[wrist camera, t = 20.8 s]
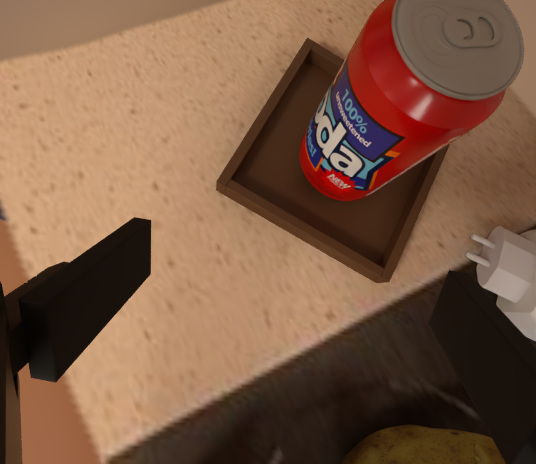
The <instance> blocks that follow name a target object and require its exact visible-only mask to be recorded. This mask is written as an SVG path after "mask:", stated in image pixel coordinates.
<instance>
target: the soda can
mask: <svg viewBox="0 0 536 464" xmlns="http://www.w3.org/2000/svg"><path fill="white" fill-rule="evenodd" d="M523 57H524V44H523V38H522V33H521V30H520V27H519V25H518V22H517V20H516V18H515V17H514V15H513V13H512V11H511V10H510V8H509V7H508V6H507V4H506V3H505V2H504V1H503V0H384V1H383V2H382V3H381V4H380V5H379V6H378V7H377V8H376V9H375V10H374V11H373V13H372V14H371V15H370V17H369V19H368V20H367V22H366V24H365V25H364V27H363V29H362V30H361V32H360V34H359V36H358V38H357V39H356V41H355V43H354V45H353V46H352V48H351V50H350V52H349V54H348V55H347V57H346V59H345V61H344V63H343V64H342V66H341V68H340V70H339V71H338V73H337V75H336V77H335V79H334V80H333V82H332V84H331V86H330V87H329V89H328V91H327V93H326V95H325V96H324V98H323V100H322V102H321V103H320V105H319V107H318V109H317V111H316V112H315V114H314V116H313V118H312V119H311V121H310V123H309V125H308V127H307V128H306V130H305V132H304V134H303V136H302V139H301V143H300V148H299V159H300V164H301V167H302V170H303V172H304V174H305V176H306V178H307V179H308V181H309V182H310V183H311V184H312V186H313V187H314V188H316V189H317V190H318V191H319V192H321V193H322V194H324V195H326V196H328V197H330V198H332V199H336V200H340V201H355V200H359V199H362V198H365V197H367V196H369V195H371V194H373V193H374V192H376V191H377V190H379V189H381V188H382V187H384V186H385V185H387V184H388V183H390V182H391V181H393V180H394V179H396V178H397V177H399V176H401V175H402V174H404V173H405V172H407V171H408V170H410V169H411V168H413V167H414V166H416V165H418V164H419V163H421V162H422V161H424V160H425V159H427V158H428V157H430V156H431V155H433V154H435V153H436V152H438V151H439V150H441V149H442V148H444V147H445V146H447V145H448V144H450V143H452V142H453V141H455V140H456V139H458V138H459V137H461V136H462V135H464V134H465V133H467V132H469V131H470V130H472V129H473V128H475V127H476V126H478V125H479V124H480V123H482V122H483V121H485V120H486V119H487V118H488V117H489V116H490V115H491V114H492V113H493V112H494V111H495V110H496V109H497V108H498V106H499V105H500V103H501V101H502V99H503V97H504V94H505V91H506V88H507V87H508V86H509V85H510V84H511V83H512V82H513V81H514V80H515V78H516V77H517V75H518V74H519V72H520V69H521V66H522V62H523Z"/></svg>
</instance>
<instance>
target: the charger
mask: <svg viewBox="0 0 536 464" xmlns="http://www.w3.org/2000/svg"><path fill="white" fill-rule="evenodd" d="M471 239H473V240H475V241H477V242H480V243H482V244H483V247H482V251H481V254H480V257H479V256H477V255H475V254H473V253H471V252H469V251H468V252H466V254H465V256H466V257H467V258H469V259H471V260H473V261H475V262H477V263H478V265H477V268H476V269H477V277H478V283H479V284H480V285H481V286H482V287H483V288H485V289H487V290H489V291H491V292H493V293H496V294H498V298H497V302H496V305H497V306H498V307H499V309H500V310H501V311H502V312H503V313H504V314H505V315H506V316H507V317H508V318H509V319H510V320H511V322H512V323H513V324H514V325H515V326H516V327H517V328H518V329H519V330H520V331H521V332H522V333H523V335H524V336H526V337H528V338H530V339H532V340H534V341H536V229H534V230H530V231H527V232H524V233H522V234H520V235H517V234H515V233H513V232H511V231H509V230H507V229H505V228H503V227H501V226H499V225H498V226H497V227H496V228H495V229H494V230H493V231H492V232H491V234H490V235H489V237H488V238H487V239H485V238H483V237H481V236H479V235H477V234H475V233H472V234H471Z"/></svg>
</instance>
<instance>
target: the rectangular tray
mask: <svg viewBox="0 0 536 464" xmlns="http://www.w3.org/2000/svg"><path fill="white" fill-rule="evenodd" d="M344 61H345V60H343V59H341V58H340V57H338V56H336V55H335V54H333V53H332V52H330V51H328V50H327V49H325V48H323V47H322V46H320V45H319V44H317V43H315V42H314V41H312V40H310V39H309V38H307V39H306V41H305V42H304V44H303V45H302V47H301V49H300V50H299V52H298V53H297V55H296V57H295V58H294V60H293V61H292V63H291V64H290V66H289V68H288V69H287V71H286V72H285V74H284V76H283V77H282V79H281V80H280V82H279V84H278V85H277V87H276V88H275V90H274V91H273V93H272V95H271V96H270V98H269V99H268V101H267V103H266V104H265V106H264V107H263V109H262V110H261V112H260V114H259V115H258V117H257V118H256V120H255V122H254V123H253V125H252V126H251V128H250V129H249V131H248V133H247V134H246V136H245V137H244V139H243V141H242V142H241V144H240V145H239V147H238V148H237V150H236V152H235V153H234V155H233V156H232V158H231V160H230V161H229V163H228V164H227V166H226V167H225V169H224V171H223V172H222V174H221V175H220V177H219V179H218V180H217V184H216V190H217V191H219V192H220V193H222V194H224V195H226V196H227V197H229V198H231V199H232V200H234V201H236V202H238V203H239V204H241V205H243V206H245V207H246V208H248V209H250V210H251V211H253V212H255V213H257V214H258V215H260V216H262V217H264V218H265V219H267V220H269V221H270V222H272V223H274V224H276V225H277V226H279V227H281V228H283V229H284V230H286V231H288V232H289V233H291V234H293V235H295V236H296V237H298V238H300V239H302V240H303V241H305V242H307V243H308V244H310V245H312V246H314V247H315V248H317V249H319V250H320V251H322V252H324V253H326V254H327V255H329V256H331V257H333V258H334V259H336V260H338V261H339V262H341V263H343V264H345V265H346V266H348V267H350V268H352V269H353V270H355V271H357V272H358V273H360V274H362V275H364V276H365V277H367V278H369V279H371V280H372V281H374V282H376V283H383V282H389V281H390V279H391V277H392V274H393V272H394V270H395V268H396V265H397V263H398V261H399V259H400V256H401V254H402V252H403V249H404V247H405V245H406V243H407V240H408V238H409V236H410V234H411V231H412V229H413V227H414V224H415V222H416V220H417V218H418V215H419V213H420V211H421V209H422V206H423V204H424V202H425V200H426V197H427V195H428V193H429V190H430V188H431V186H432V184H433V181H434V179H435V177H436V175H437V172H438V170H439V168H440V166H441V163H442V161H443V159H444V156H445V154H446V152H447V150H448V147H449V145H450V144H448V145H447V146H445V147H444V148H442V149H441V150H439V151H438V152H436V153H435V154H433V155H431V156H430V157H428V158H427V159H425V160H424V161H422V162H421V163H419V164H418V165H416V166H414V167H413V168H411V169H410V170H408V171H407V172H405V173H404V174H402V175H401V176H399V177H397V178H396V179H394V180H393V181H391V182H390V183H388V184H387V185H385V186H384V187H382V188H381V189H379V190H377V191H376V192H374V193H373V194H371V195H369V196H367V197H365V198H362V199H359V200H355V201H340V200H336V199H332V198H330V197H328V196H326V195H324V194H322V193H321V192H319V191H318V190H317V189H316V188H314V187H313V186H312V184H311V183H310V182H309V181H308V179H307V178H306V176H305V174H304V172H303V170H302V167H301V164H300V159H299V148H300V143H301V139H302V136H303V134H304V132H305V130H306V128H307V127H308V125H309V123H310V121H311V119H312V118H313V116H314V114H315V112H316V111H317V109H318V107H319V105H320V103H321V102H322V100H323V98H324V96H325V95H326V93H327V91H328V89H329V87H330V86H331V84H332V82H333V80H334V79H335V77H336V75H337V73H338V71H339V70H340V68H341V66H342V64H343V63H344Z"/></svg>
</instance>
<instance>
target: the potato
mask: <svg viewBox="0 0 536 464" xmlns="http://www.w3.org/2000/svg"><path fill="white" fill-rule="evenodd" d="M340 464H506V463H505V461H504V459H503V457H502V456H501V454H500V452H499V450H498V448H497V446H496V445H495V443H494V441H493V439H492V438H491V437H487V436H484V435H481V434H477V433H472V432H466V431H460V430H454V429H440V428H428V427H424V426H420V425H411V424H408V425H401V426H395V427H389V428H385V429H381V430H379V431H376V432H374V433H372V434H370V435H369V436H367V437H366V438H364V439H363V440H361V441H360V442H359V443H358V444H357V445H356V446H355V447H354V448H353V449H352V450H350V451H349V452H348V453H347V454H346V455H345V457H344V458H343V459H342V460H341V462H340Z"/></svg>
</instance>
